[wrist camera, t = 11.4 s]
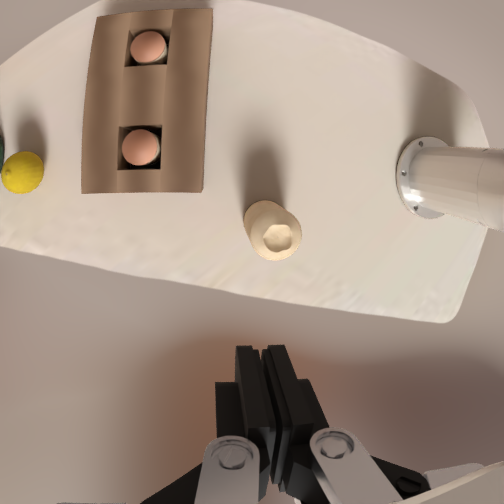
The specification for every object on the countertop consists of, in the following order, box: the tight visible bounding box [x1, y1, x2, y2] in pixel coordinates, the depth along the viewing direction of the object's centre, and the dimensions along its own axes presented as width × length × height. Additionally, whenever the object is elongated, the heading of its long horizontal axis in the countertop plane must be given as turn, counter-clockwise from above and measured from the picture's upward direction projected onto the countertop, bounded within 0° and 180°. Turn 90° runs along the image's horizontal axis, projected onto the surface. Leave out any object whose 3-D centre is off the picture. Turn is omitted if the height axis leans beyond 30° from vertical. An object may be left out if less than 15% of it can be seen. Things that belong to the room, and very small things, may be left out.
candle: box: [244, 200, 302, 260], centre depth 37 cm, size 6×6×10 cm
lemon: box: [1, 151, 44, 194], centre depth 33 cm, size 6×6×8 cm
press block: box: [81, 9, 213, 194], centre depth 34 cm, size 14×22×6 cm, turn 177°
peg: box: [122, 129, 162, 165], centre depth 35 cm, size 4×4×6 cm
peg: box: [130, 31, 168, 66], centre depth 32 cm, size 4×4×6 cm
